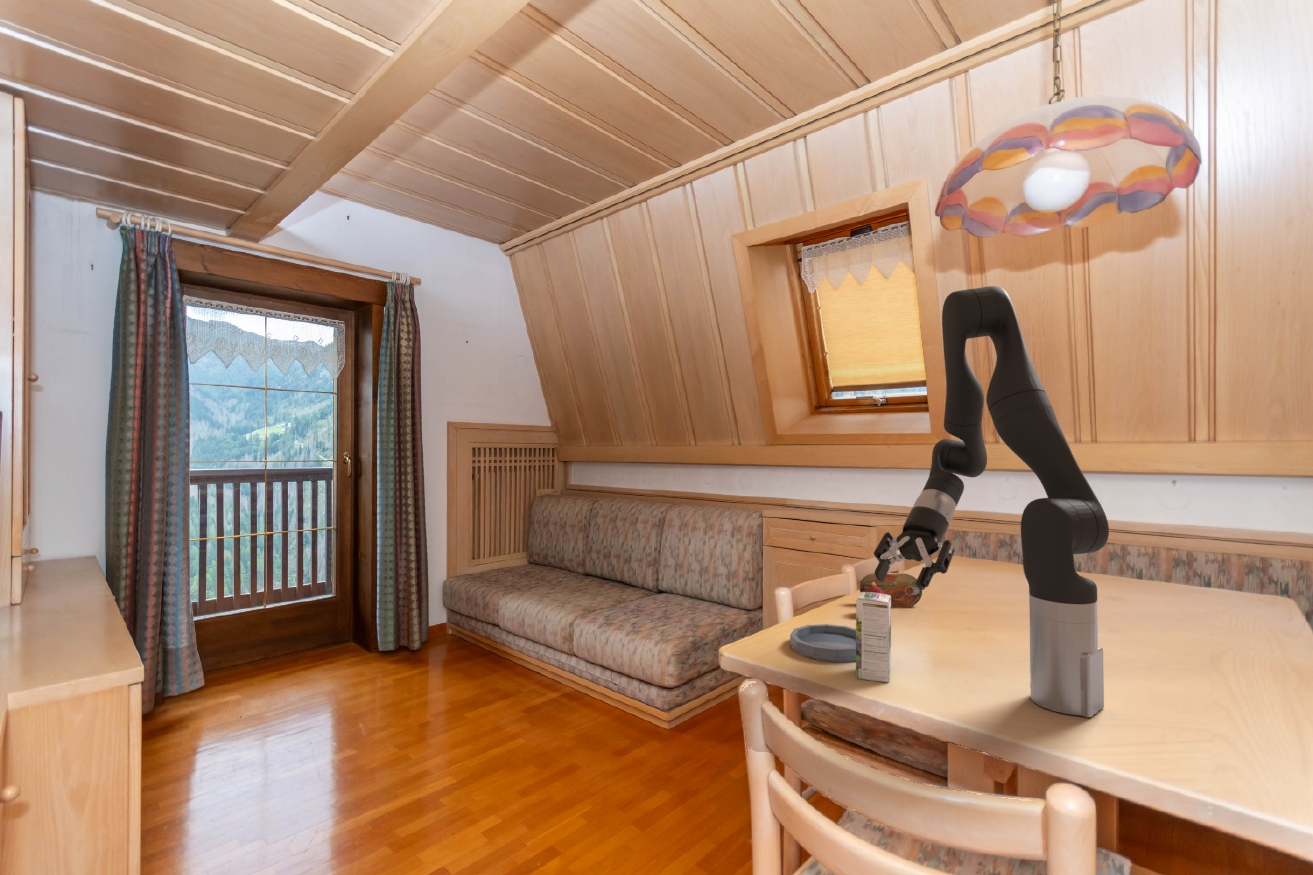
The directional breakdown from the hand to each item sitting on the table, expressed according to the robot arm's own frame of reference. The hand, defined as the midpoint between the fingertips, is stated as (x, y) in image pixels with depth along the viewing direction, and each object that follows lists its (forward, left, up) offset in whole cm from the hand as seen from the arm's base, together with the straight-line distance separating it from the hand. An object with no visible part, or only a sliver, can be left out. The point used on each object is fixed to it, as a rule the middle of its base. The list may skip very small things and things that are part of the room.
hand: (898, 582), depth 118 cm
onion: (+22, -25, -16) cm, 37 cm away
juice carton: (0, +8, -16) cm, 18 cm away
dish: (+14, +2, -16) cm, 21 cm away
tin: (+25, -36, -16) cm, 46 cm away
